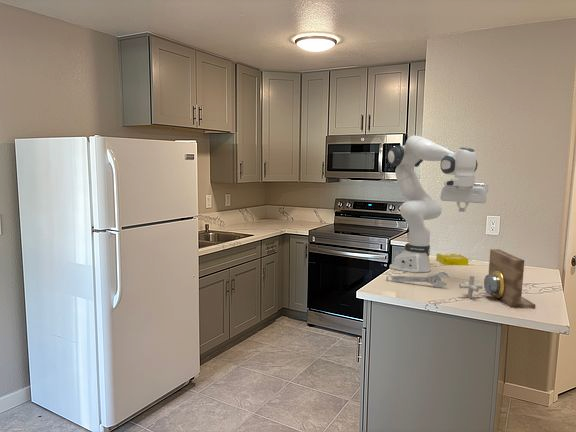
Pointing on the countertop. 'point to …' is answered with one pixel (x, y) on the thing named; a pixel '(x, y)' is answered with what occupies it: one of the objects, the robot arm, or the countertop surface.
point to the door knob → (495, 284)
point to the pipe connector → (471, 286)
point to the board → (510, 277)
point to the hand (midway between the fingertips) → (462, 211)
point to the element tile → (452, 259)
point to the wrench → (422, 279)
